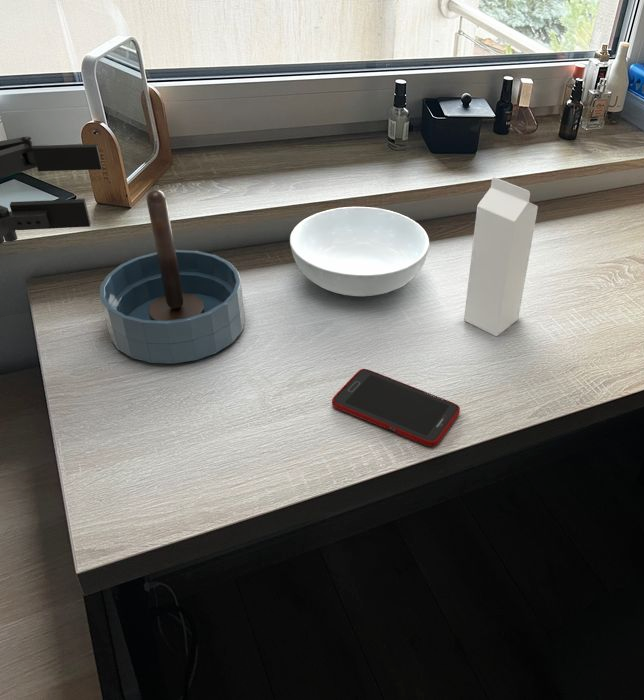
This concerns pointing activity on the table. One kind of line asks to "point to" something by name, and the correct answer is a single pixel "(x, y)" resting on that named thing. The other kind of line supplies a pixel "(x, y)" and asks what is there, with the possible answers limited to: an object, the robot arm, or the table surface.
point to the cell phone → (397, 407)
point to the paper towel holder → (168, 267)
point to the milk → (499, 257)
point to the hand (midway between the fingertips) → (94, 183)
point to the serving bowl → (359, 250)
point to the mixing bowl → (182, 334)
